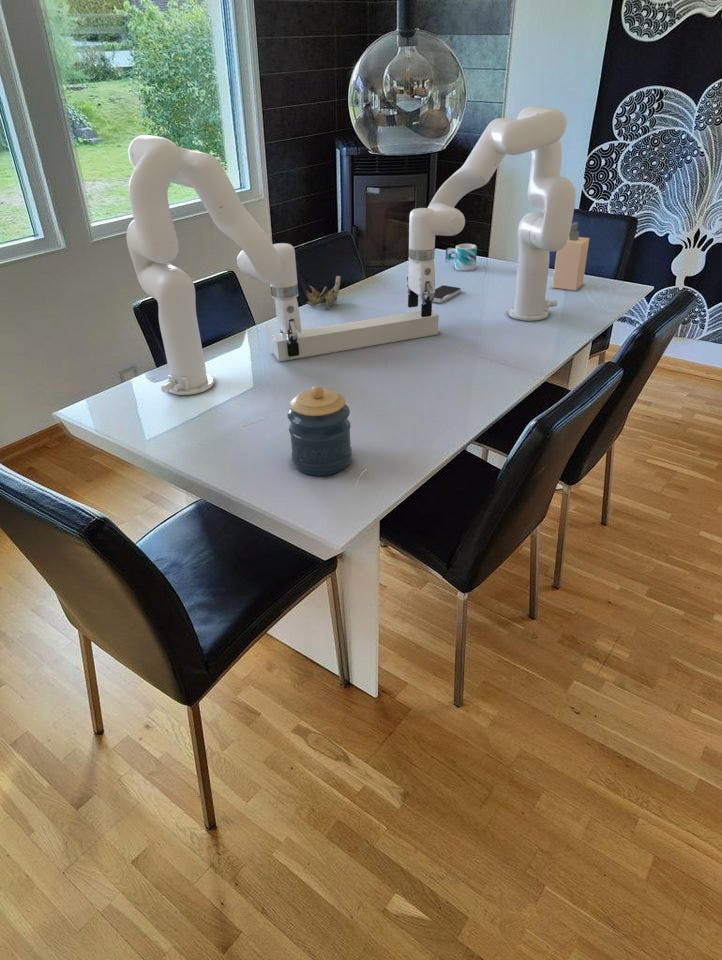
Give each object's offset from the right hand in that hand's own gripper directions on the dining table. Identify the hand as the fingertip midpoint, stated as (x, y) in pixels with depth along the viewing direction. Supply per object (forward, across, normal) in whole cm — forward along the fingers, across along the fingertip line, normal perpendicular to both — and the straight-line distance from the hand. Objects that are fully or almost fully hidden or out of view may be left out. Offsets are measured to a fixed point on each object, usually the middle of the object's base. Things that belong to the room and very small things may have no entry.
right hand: (419, 311), depth 204 cm
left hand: (+7, 0, +41) cm, 42 cm away
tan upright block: (+5, +19, -66) cm, 69 cm away
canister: (+8, -61, +51) cm, 80 cm away
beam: (+7, 0, +20) cm, 21 cm away
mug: (+6, +59, -45) cm, 75 cm away
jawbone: (+7, +40, +17) cm, 44 cm away
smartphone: (+6, +30, -22) cm, 38 cm away
